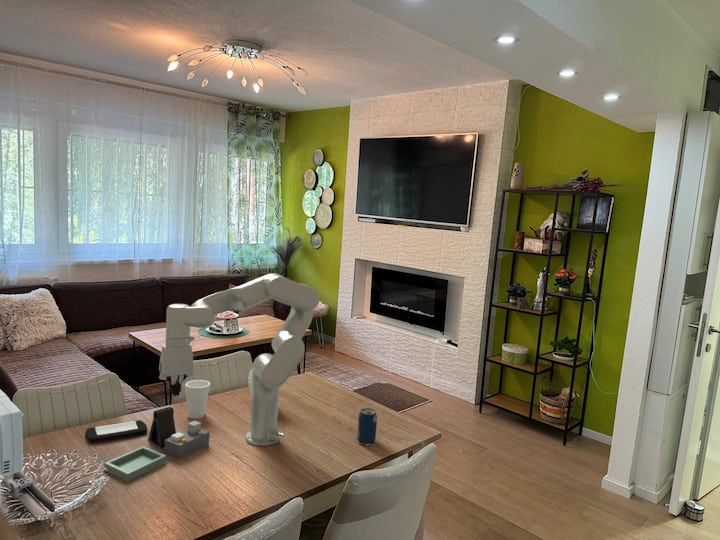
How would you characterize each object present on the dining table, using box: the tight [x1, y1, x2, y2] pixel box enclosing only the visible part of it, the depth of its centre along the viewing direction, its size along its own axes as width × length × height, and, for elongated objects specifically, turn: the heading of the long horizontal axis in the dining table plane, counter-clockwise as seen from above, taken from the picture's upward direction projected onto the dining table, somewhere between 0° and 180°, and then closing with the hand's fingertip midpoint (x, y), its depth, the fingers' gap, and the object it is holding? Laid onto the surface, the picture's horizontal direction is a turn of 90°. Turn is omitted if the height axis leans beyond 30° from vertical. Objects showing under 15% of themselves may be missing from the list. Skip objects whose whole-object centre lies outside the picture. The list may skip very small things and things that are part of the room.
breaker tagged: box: [171, 432, 185, 442], centre depth 164 cm, size 3×3×4 cm
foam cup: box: [184, 379, 211, 419], centre depth 194 cm, size 10×9×13 cm
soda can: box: [356, 408, 378, 445], centre depth 182 cm, size 7×7×12 cm
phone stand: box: [147, 406, 177, 449], centre depth 170 cm, size 9×6×12 cm, turn 50°
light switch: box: [84, 419, 148, 443], centre depth 175 cm, size 20×3×14 cm
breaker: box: [187, 420, 202, 435], centre depth 170 cm, size 3×3×4 cm
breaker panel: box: [163, 428, 210, 461], centre depth 167 cm, size 7×13×6 cm, turn 152°
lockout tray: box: [103, 445, 167, 482], centre depth 154 cm, size 11×14×2 cm
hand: (175, 394), depth 164 cm, fingers closed
